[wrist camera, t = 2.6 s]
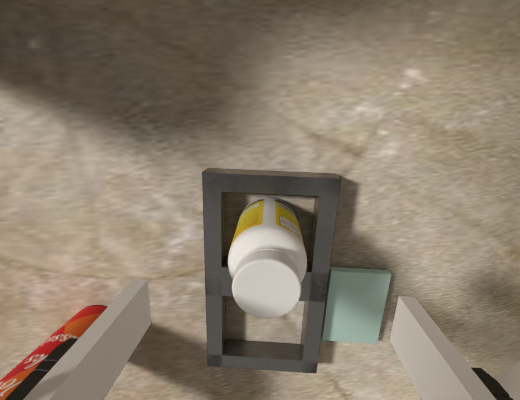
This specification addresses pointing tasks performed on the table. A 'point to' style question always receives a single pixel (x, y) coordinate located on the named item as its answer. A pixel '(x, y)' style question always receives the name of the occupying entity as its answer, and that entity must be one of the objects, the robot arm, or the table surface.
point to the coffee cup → (50, 347)
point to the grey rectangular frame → (221, 281)
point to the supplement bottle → (267, 259)
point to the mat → (354, 304)
